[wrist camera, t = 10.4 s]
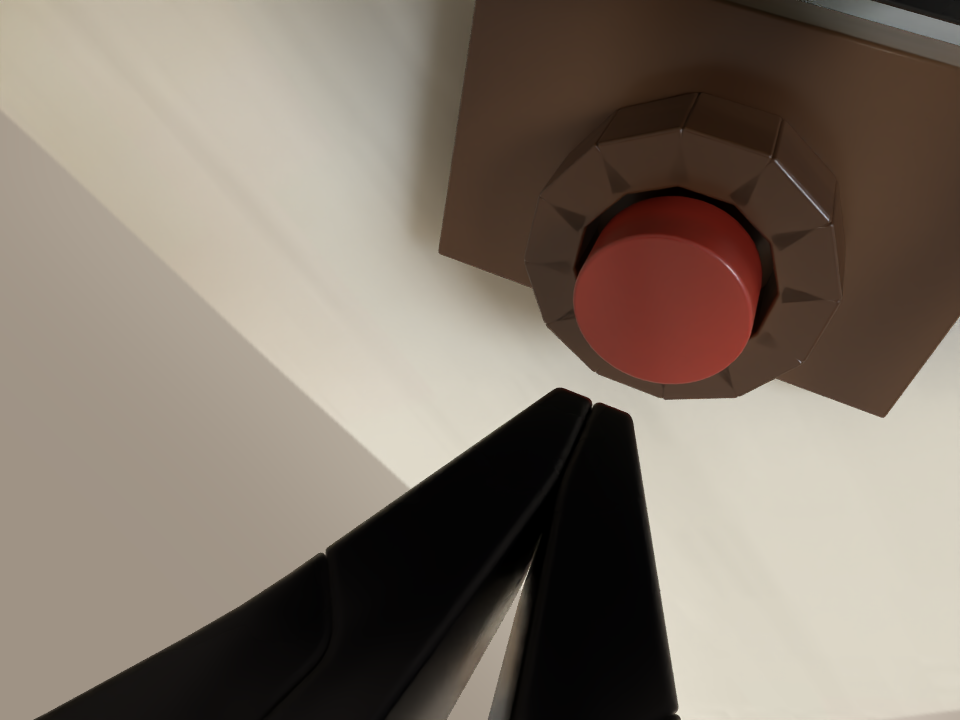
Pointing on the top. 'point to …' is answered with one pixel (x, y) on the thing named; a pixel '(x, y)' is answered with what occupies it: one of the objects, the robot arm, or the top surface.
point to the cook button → (669, 290)
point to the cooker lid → (930, 8)
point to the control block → (724, 171)
